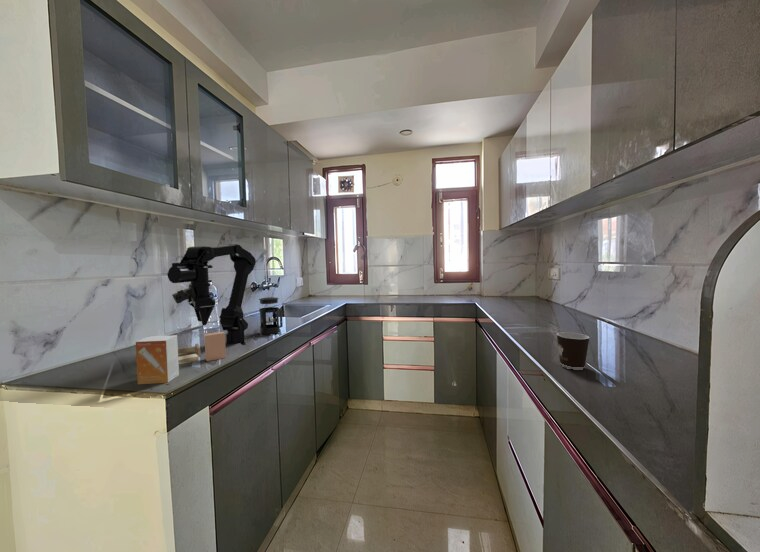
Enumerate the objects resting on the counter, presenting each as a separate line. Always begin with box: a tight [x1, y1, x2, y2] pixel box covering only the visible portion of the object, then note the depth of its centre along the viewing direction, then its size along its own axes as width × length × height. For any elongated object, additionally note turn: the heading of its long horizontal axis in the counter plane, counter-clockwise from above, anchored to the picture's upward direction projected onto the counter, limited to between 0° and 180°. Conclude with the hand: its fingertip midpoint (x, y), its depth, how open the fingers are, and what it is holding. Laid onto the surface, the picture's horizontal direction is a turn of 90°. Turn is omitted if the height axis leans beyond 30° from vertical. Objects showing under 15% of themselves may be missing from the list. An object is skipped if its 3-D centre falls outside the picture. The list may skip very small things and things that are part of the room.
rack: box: [178, 343, 202, 358], centre depth 111 cm, size 9×8×4 cm
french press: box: [258, 285, 283, 336], centre depth 148 cm, size 12×9×23 cm
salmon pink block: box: [203, 331, 227, 362], centre depth 108 cm, size 6×3×9 cm, turn 127°
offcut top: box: [178, 353, 199, 365], centre depth 105 cm, size 6×4×2 cm
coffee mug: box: [556, 331, 590, 367], centre depth 97 cm, size 12×9×10 cm
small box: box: [135, 334, 180, 386], centre depth 89 cm, size 8×6×13 cm
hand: (202, 323), depth 112 cm, fingers open, 9 cm apart
